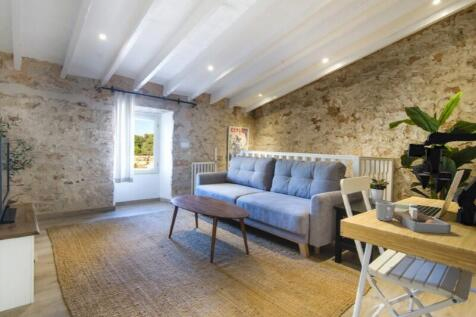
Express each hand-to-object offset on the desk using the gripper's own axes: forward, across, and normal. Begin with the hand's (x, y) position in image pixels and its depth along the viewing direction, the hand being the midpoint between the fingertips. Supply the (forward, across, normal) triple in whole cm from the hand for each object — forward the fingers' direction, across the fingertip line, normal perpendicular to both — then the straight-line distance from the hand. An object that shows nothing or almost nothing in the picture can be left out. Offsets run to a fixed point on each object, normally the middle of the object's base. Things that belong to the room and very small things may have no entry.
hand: (430, 191), depth 123 cm
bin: (+13, +18, -12) cm, 25 cm away
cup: (+13, +8, -24) cm, 29 cm away
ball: (+11, +17, -10) cm, 23 cm away
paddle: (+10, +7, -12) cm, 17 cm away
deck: (+13, +6, -11) cm, 18 cm away
